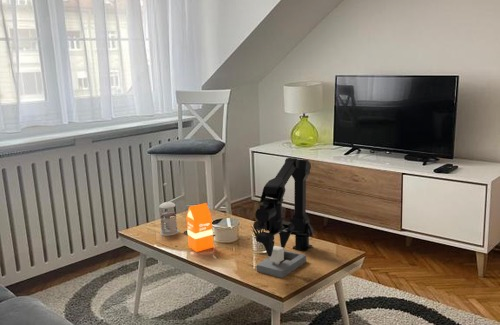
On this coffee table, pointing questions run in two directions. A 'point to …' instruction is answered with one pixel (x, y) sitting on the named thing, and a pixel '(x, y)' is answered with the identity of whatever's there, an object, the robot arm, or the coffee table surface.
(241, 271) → the coffee table surface
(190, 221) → the orange juice
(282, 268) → the keyhole board
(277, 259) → the keyhole peg
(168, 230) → the french press
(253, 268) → the coffee table surface
